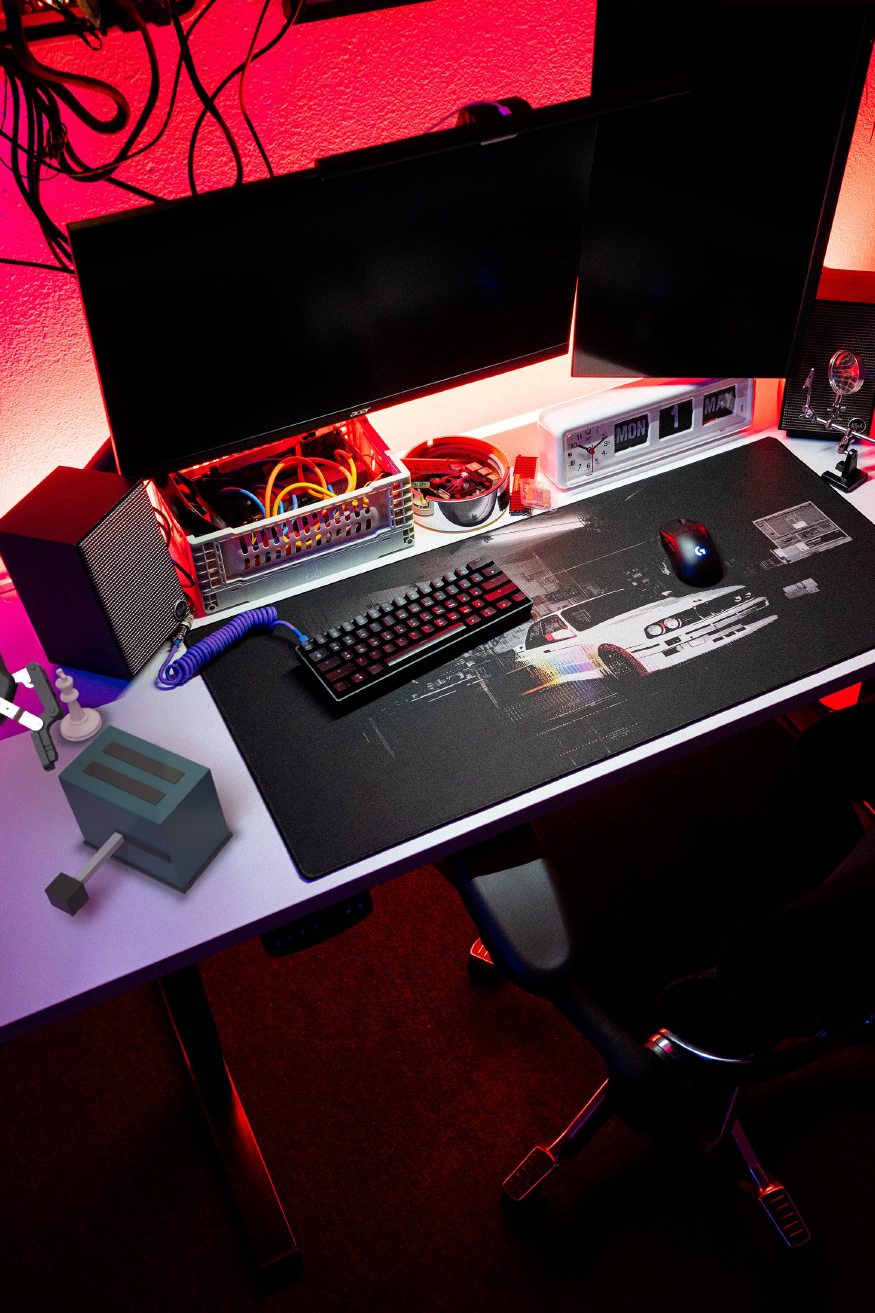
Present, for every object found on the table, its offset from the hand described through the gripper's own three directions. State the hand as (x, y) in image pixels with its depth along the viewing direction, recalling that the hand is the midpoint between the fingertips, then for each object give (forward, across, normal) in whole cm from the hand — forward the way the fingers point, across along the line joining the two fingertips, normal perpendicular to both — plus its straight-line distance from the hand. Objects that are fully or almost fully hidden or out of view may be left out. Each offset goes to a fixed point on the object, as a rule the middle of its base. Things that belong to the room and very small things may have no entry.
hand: (6, 788), depth 109 cm
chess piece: (-9, +4, +31) cm, 33 cm away
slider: (+10, +2, +12) cm, 16 cm away
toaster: (+9, +9, +19) cm, 23 cm away
